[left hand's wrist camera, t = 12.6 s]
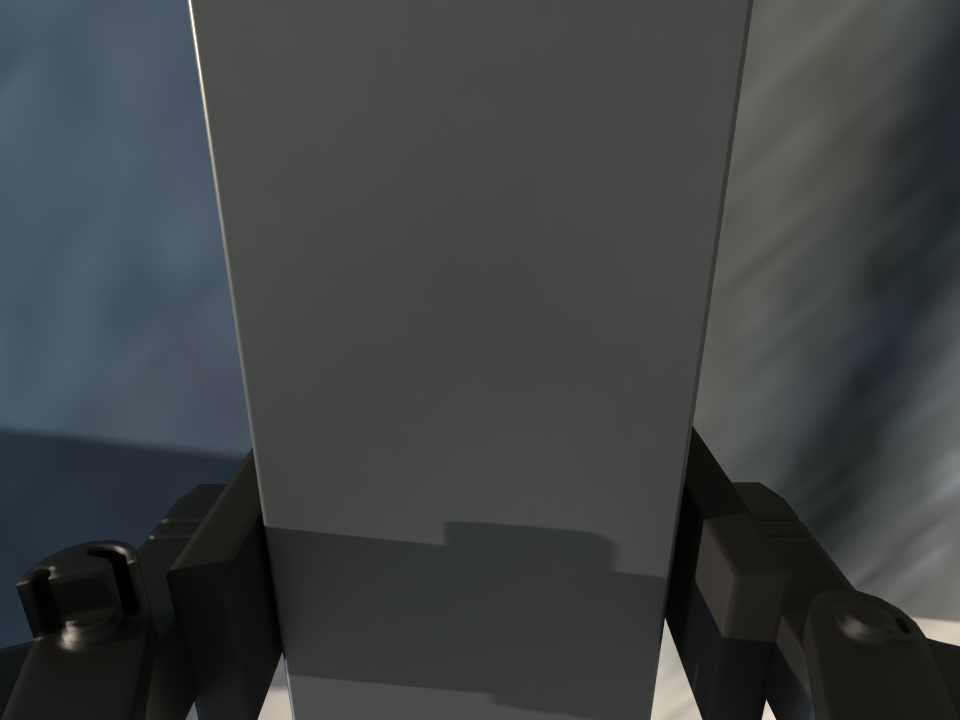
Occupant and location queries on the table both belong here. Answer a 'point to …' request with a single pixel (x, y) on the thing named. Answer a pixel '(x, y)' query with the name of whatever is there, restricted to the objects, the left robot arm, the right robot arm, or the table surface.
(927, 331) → the table surface
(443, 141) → the post
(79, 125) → the table surface
